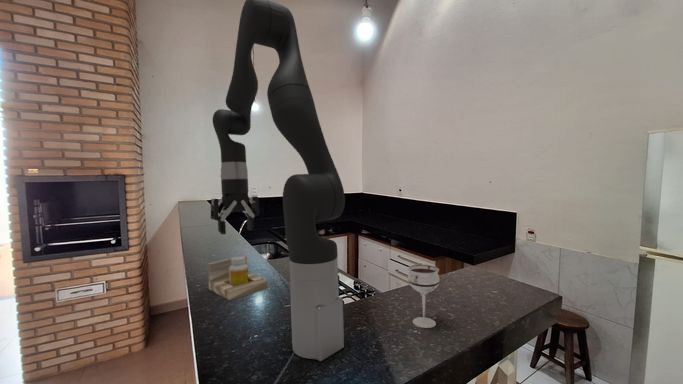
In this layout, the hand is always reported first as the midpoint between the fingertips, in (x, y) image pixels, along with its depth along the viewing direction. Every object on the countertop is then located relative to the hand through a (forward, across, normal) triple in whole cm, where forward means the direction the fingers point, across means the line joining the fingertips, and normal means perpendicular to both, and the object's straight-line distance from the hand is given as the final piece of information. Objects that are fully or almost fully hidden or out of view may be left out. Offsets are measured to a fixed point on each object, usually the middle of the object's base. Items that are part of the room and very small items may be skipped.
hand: (237, 232), depth 89 cm
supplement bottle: (+18, 0, 0) cm, 18 cm away
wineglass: (+18, +17, -52) cm, 57 cm away
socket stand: (+17, 0, 0) cm, 17 cm away
